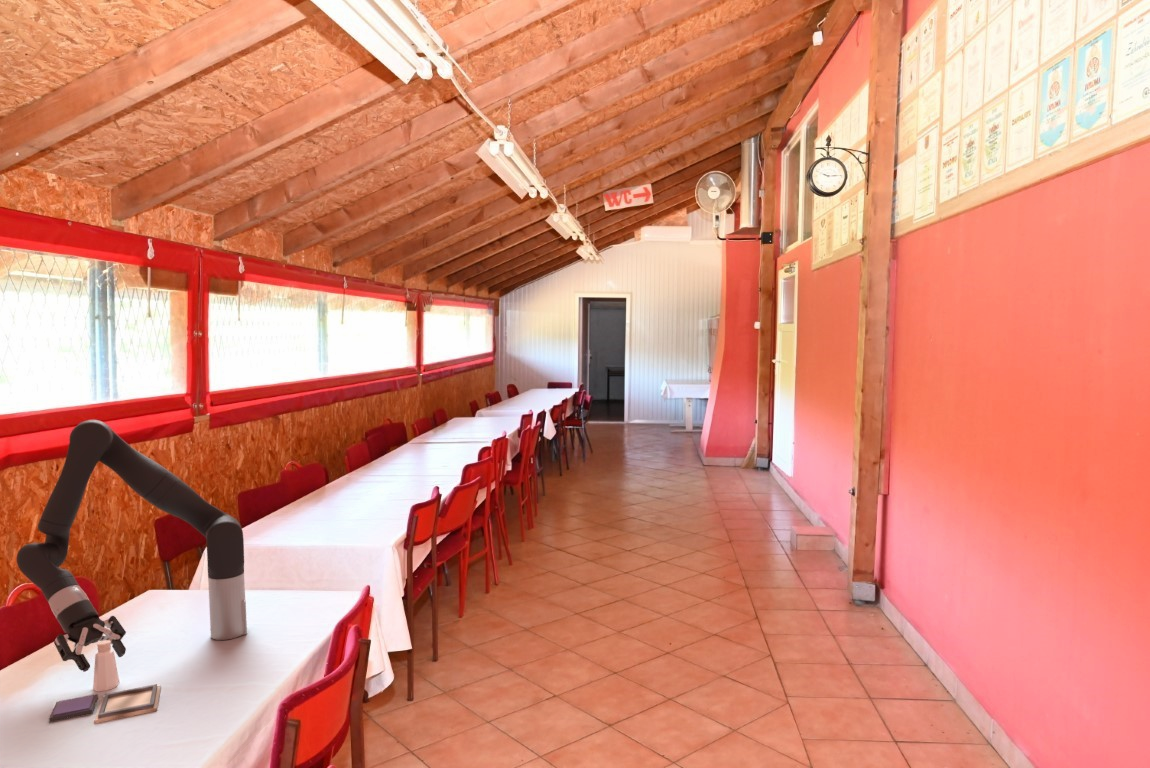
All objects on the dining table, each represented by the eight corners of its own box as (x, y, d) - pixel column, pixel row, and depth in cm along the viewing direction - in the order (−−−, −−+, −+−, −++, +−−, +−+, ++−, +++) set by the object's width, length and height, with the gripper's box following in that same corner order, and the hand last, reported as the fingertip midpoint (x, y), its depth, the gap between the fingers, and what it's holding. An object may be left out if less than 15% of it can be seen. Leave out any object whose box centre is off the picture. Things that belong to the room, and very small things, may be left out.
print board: (161, 687, 177) (160, 682, 177) (157, 710, 166) (156, 704, 166) (102, 699, 171) (101, 693, 171) (94, 723, 161) (93, 717, 161)
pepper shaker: (106, 692, 175) (104, 647, 174) (87, 690, 176) (84, 645, 175) (125, 682, 180) (122, 638, 179) (106, 680, 181) (103, 636, 180)
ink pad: (97, 698, 172) (97, 692, 172) (92, 713, 165) (92, 708, 165) (56, 705, 169) (56, 700, 168) (49, 722, 161) (48, 716, 161)
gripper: (48, 609, 173) (81, 665, 170) (108, 590, 186) (140, 641, 182) (35, 628, 176) (68, 683, 172) (95, 607, 189) (127, 659, 185)
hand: (105, 662), depth 177 cm, fingers open, 8 cm apart
